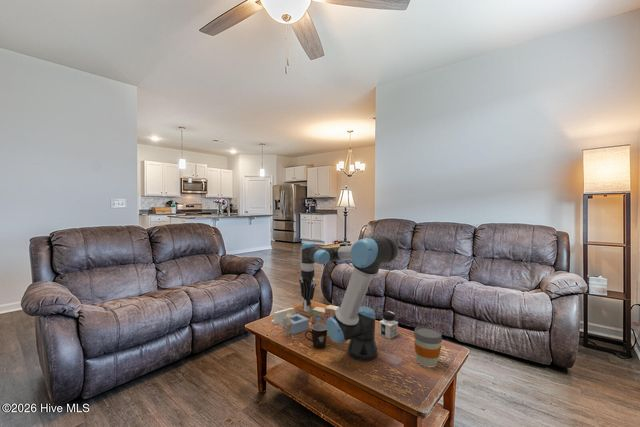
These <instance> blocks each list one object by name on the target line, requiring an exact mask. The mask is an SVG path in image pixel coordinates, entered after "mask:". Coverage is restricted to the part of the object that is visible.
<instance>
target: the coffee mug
mask: <svg viewBox="0 0 640 427" xmlns="http://www.w3.org/2000/svg"><path fill="white" fill-rule="evenodd" d="M310 328H311V330H306V332H305V333H304V337H305V339H307V341H310V342H311V343H312V346H313V348H315V349H317V350H319V349H320V350H322V349H324V348H325V347H326V342H327V335H328V332H327V329H326V325H324V324H312V325H311V327H310ZM308 333H310V334H311V337H312V339H311V338H308V337H307V334H308Z"/></svg>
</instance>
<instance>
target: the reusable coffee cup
mask: <svg viewBox="0 0 640 427" xmlns="http://www.w3.org/2000/svg"><path fill="white" fill-rule="evenodd" d="M413 333H414V334H413V336H414V341H413V342H414V351H415V353H416V354H415V355H416V362H417V361H418V362H419V363H420V364H422V365H426V366H435V365H436V364H437V365H438V359H439V357H440V355H441V350H442V349H441V348H442V345H441V343H442V341H443V338H442V337H443V336H442V333H441V331H440V330H439V329H437V328H433V327H430V326H417V327H415V328H414V332H413ZM418 362H417V363H418ZM419 363H418V364H419ZM420 364H419V365H420Z"/></svg>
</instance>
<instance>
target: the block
mask: <svg viewBox="0 0 640 427" xmlns="http://www.w3.org/2000/svg"><path fill="white" fill-rule="evenodd" d="M282 328H283V329H285V328H286V317H285V318H283V322H282ZM309 329H310V319H309V318H307V317H304V316H302V315H300V314H296V313H294V315H291V335H297V334H299V333H302V332H304V331H309Z"/></svg>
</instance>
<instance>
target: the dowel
mask: <svg viewBox="0 0 640 427" xmlns="http://www.w3.org/2000/svg"><path fill="white" fill-rule="evenodd" d="M284 331H285V333H284V334H285V336H284V337H285V338H290V337H292V336H291V335H292V333H291V311H286V328H285V330H284Z"/></svg>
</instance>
